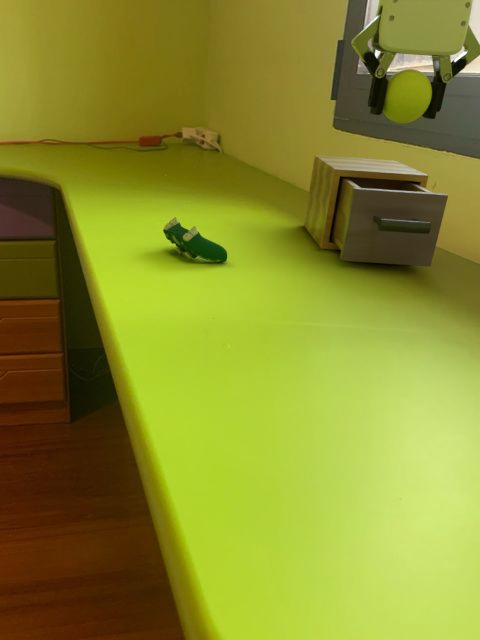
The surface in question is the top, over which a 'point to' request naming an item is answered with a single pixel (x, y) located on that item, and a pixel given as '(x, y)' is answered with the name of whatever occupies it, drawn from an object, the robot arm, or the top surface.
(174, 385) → the top surface
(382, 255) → the drawer
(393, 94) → the ball
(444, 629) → the top surface
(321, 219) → the cabinet
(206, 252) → the green shoe
